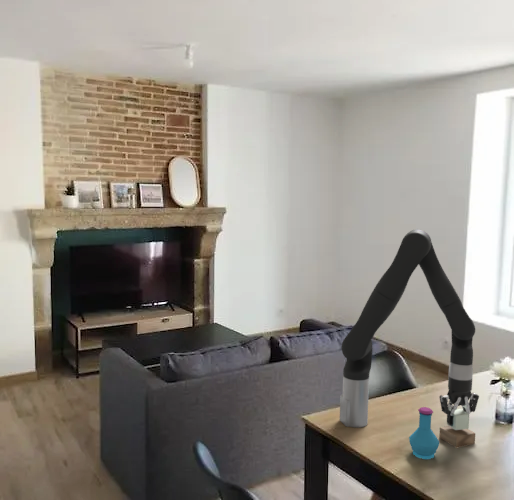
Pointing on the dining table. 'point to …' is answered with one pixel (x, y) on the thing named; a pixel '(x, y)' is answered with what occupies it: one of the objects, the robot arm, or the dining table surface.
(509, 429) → the dining table surface
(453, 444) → the brown wooden block
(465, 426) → the sage cube
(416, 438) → the perfume bottle
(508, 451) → the dining table surface
